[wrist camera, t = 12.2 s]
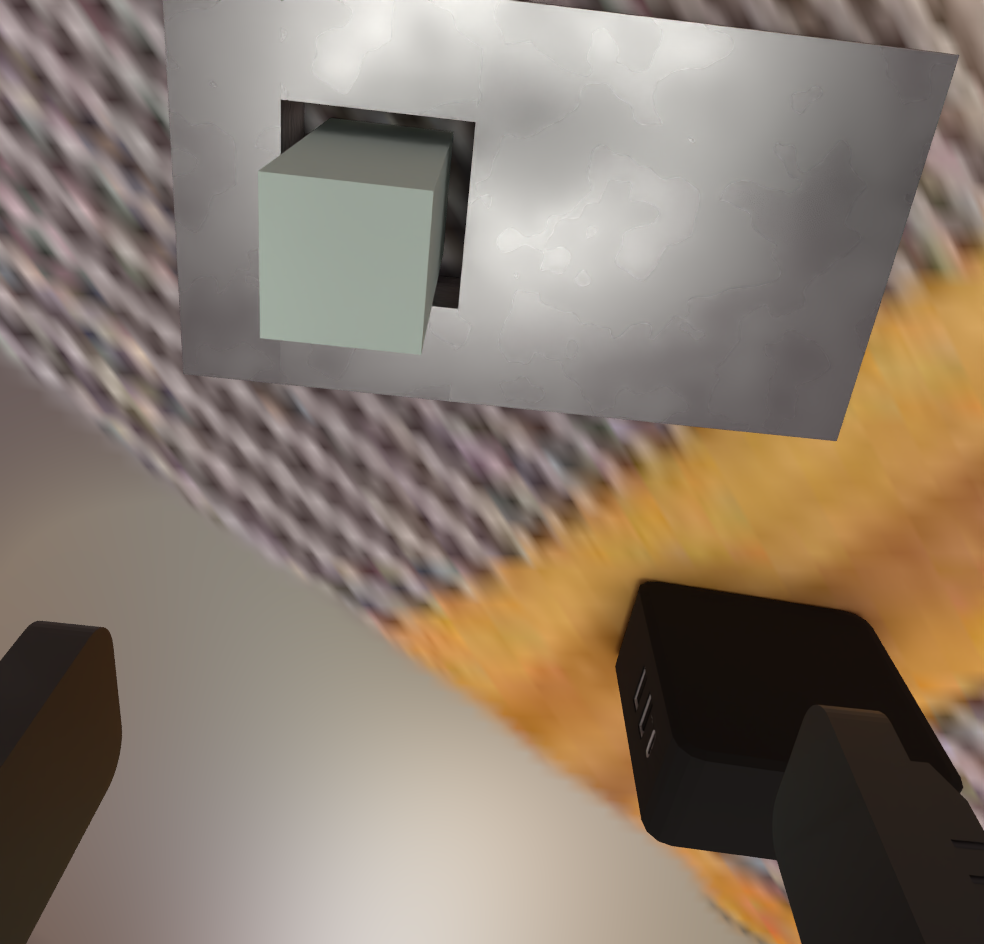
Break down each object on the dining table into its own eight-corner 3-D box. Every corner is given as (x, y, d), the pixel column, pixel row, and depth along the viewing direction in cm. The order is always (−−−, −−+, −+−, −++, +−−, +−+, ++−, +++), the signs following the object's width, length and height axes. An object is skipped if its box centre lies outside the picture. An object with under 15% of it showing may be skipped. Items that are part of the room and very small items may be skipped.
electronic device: (636, 576, 38) (678, 754, 29) (865, 612, 38) (974, 797, 30) (612, 654, 40) (644, 844, 31) (830, 687, 40) (923, 882, 32)
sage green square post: (453, 132, 30) (433, 190, 21) (443, 253, 31) (421, 355, 23) (330, 117, 29) (257, 171, 21) (327, 240, 31) (259, 337, 22)
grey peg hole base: (908, 48, 28) (959, 54, 25) (805, 400, 34) (836, 441, 31) (199, -39, 27) (160, -43, 24) (213, 338, 33) (183, 373, 30)
